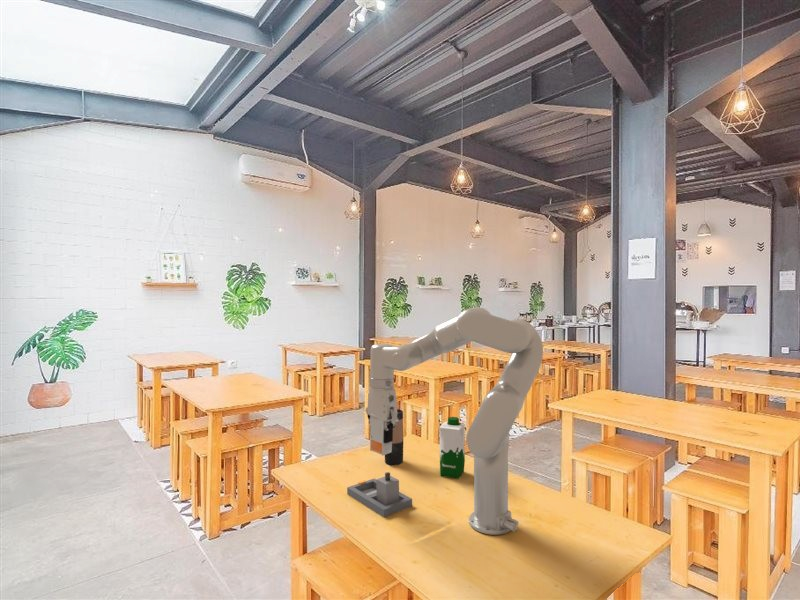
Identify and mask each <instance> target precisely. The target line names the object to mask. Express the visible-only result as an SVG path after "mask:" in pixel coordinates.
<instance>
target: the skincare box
mask: <svg viewBox="0 0 800 600" xmlns="http://www.w3.org/2000/svg"><path fill="white" fill-rule="evenodd" d="M389 419H390V417H388V420H389ZM387 424H388V425H389V424H390V423H389V422H387ZM384 430H385V427H384V421H382V420H379V419H378V418H377V416H375V415H373V414H371V422H370V424H369V451H371V452H373V453H376V454H378V455H382V456H385V455H386V454H388V453H391V452H392V442H389V443H384Z"/></svg>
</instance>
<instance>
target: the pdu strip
mask: <svg viewBox="0 0 800 600" xmlns="http://www.w3.org/2000/svg"><path fill="white" fill-rule="evenodd" d="M376 479H377V478H372V479H369V480H361V481H359V482H358V483H357V484H354V485H353V484H352V485H350V486H347V488H346V489H347V491H346V493H347V494H346V495H348V496H349V497H351V498H352V499H354V500H356V501H357V502H358V503H361V504H362V505H364V506H365V507H366V508H369V509H370V510H371V511H373V512H374V513H376V514H378V515H380V516H381V517H382V518H386V517H387V518H388V517H389V516H392V515H394V514H396V513H398V512H401V511H404V510H406V509H409V508H410V507H413V498H412V497H410V496H408V495H406V494H404V493H402V492H400V491H399V501H398V502H395V503H393V504H390V505H388V506H384V505H383V504H381V503H379V502H378V501H377V487H376Z"/></svg>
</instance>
